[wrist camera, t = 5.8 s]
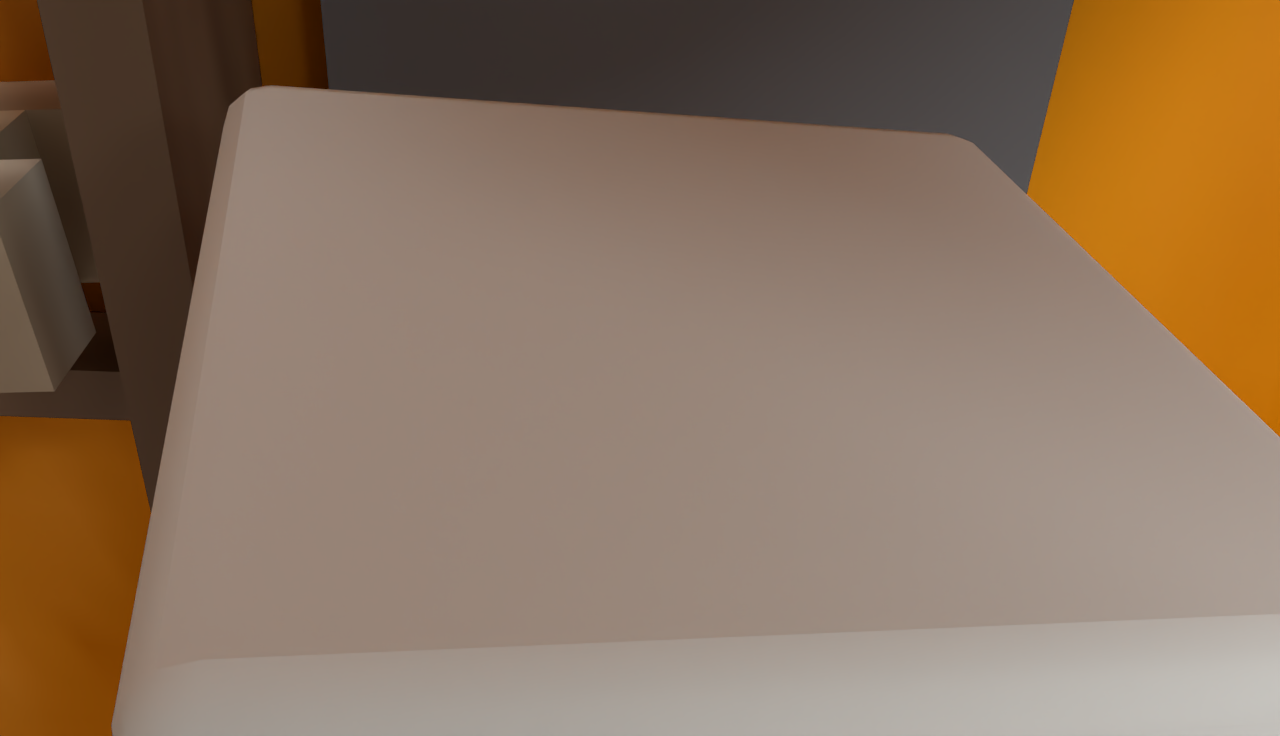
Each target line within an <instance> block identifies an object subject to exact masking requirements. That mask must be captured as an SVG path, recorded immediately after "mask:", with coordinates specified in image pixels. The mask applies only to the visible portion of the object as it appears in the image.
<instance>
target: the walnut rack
mask: <svg viewBox="0 0 1280 736" xmlns="http://www.w3.org/2000/svg"><path fill="white" fill-rule="evenodd" d="M37 3H38V8H39V12H40V17H41V21H42V26H43V30H44V35H45V39H46V43H47V48H48V52H49V57H50V61H51V66H52V70H53V75H54V79H55V84H56V88H57V93H58V97H59V102H60V106H61V111H62V115H63V120H64V124H65V129H66V133H67V138H68V142H69V147H70V151H71V156H72V160H73V165H74V169H75V174H76V178H77V182H78V187H79V191H80V196H81V200H82V205H83V209H84V214H85V218H86V223H87V227H88V232H89V236H90V241H91V245H92V250H93V254H94V259H95V263H96V268H97V272H98V277H99V281H100V286H101V290H102V295H103V299H104V304H105V308H106V313H97V312H90V314H91V317H92V321H93V324H94V327H95V330H96V333H95V335H94V336H93V338H92V339H91V340H90V342H89V343H88V345H87V346H86V348H85V349H84V350H83V352H82V353H81V355H80V356H79V357H78V359H77V360H76V362H75V363H74V364H73V366H72V367H71V369H70V370H69V372H68V373H67V374H66V376H65V377H64V379H63V380H62V381H61V383H60V384H59V386H58V387H57V388H56V390H55V391H49V392H11V393H0V416H20V417H48V418H77V419H106V420H131V425H132V429H133V434H134V438H135V443H136V447H137V452H138V456H139V460H140V465H141V469H142V474H143V478H144V483H145V487H146V492H147V496H148V501H149V505H150V510H151V511H152V506H153V501H154V495H155V490H156V485H157V479H158V474H159V469H160V463H161V458H162V452H163V447H164V442H165V436H166V431H167V426H168V420H169V415H170V410H171V404H172V399H173V394H174V388H175V383H176V378H177V372H178V367H179V362H180V356H181V351H182V346H183V340H184V335H185V329H186V324H187V319H188V313H189V308H190V303H191V297H192V292H193V287H194V281H195V276H196V271H197V265H198V260H199V255H200V249H201V244H202V239H203V233H204V228H205V223H206V217H207V212H208V206H209V201H210V196H211V190H212V185H213V180H214V174H215V169H216V164H217V158H218V153H219V148H220V142H221V137H222V132H223V126H224V123H225V119H226V115H227V112H228V108H229V106H230V105H231V104H232V103H233V102H234V101H236V100H237V99H238V98H239V97H240V96H241V95H243V94H244V93H245V92H246V91H248V90H249V89H251V88H256V87H262V81H261V73H260V65H259V57H258V49H257V41H256V33H255V26H254V18H253V10H252V2H251V0H37Z"/></svg>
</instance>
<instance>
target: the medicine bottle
mask: <svg viewBox="0 0 1280 736" xmlns="http://www.w3.org/2000/svg"><path fill="white" fill-rule="evenodd" d="M111 727H112V736H1280V437H1279V436H1278V435H1277V434H1276V433H1275V432H1274V431H1273V430H1272V429H1271V428H1270V427H1269V426H1268V425H1266V424H1265V423H1264V422H1263V421H1262V420H1261V419H1260V418H1259V417H1258V416H1257V415H1256V414H1255V413H1254V412H1253V411H1252V410H1251V409H1250V408H1249V407H1248V406H1247V405H1246V404H1245V403H1244V402H1243V401H1241V400H1240V399H1239V398H1238V397H1237V396H1236V395H1235V394H1234V393H1233V392H1232V391H1231V390H1230V389H1229V388H1228V387H1227V386H1226V385H1225V384H1224V383H1223V382H1222V381H1221V380H1220V379H1219V378H1218V377H1216V376H1215V375H1214V374H1213V373H1212V372H1211V371H1210V370H1209V369H1208V368H1207V367H1206V366H1205V365H1204V364H1203V363H1202V362H1201V361H1200V360H1199V359H1198V358H1197V357H1196V356H1195V355H1194V354H1192V353H1191V352H1190V351H1189V350H1188V349H1187V348H1186V347H1185V346H1184V345H1183V344H1182V343H1181V342H1180V341H1179V340H1178V339H1177V338H1176V337H1175V336H1174V335H1173V334H1172V333H1171V332H1170V331H1169V330H1167V329H1166V328H1165V327H1164V326H1163V325H1162V324H1161V323H1160V322H1159V321H1158V320H1157V319H1156V318H1155V317H1154V316H1153V315H1152V314H1151V313H1150V312H1149V311H1148V310H1147V309H1146V308H1145V307H1143V306H1142V305H1141V304H1140V303H1139V302H1138V301H1137V300H1136V299H1135V298H1134V297H1133V296H1132V295H1131V294H1130V293H1129V292H1128V291H1127V290H1126V289H1125V288H1124V287H1123V286H1122V285H1121V284H1120V283H1118V282H1117V281H1116V280H1115V279H1114V278H1113V277H1112V276H1111V275H1110V274H1109V273H1108V272H1107V271H1106V270H1105V269H1104V268H1103V267H1102V266H1101V265H1100V264H1099V263H1098V262H1097V261H1096V260H1095V259H1093V258H1092V257H1091V256H1090V255H1089V254H1088V253H1087V252H1086V251H1085V250H1084V249H1083V248H1082V247H1081V246H1080V245H1079V244H1078V243H1077V242H1076V241H1075V240H1074V239H1073V238H1072V237H1071V236H1069V235H1068V234H1067V233H1066V232H1065V231H1064V230H1063V229H1062V228H1061V227H1060V226H1059V225H1058V224H1057V223H1056V222H1055V221H1054V220H1053V219H1052V218H1051V217H1050V216H1049V215H1048V214H1047V213H1046V212H1044V211H1043V210H1042V209H1041V208H1040V207H1039V206H1038V205H1037V204H1036V203H1035V202H1034V201H1033V200H1032V199H1031V198H1030V197H1029V196H1028V195H1027V194H1026V193H1025V192H1024V191H1023V190H1022V189H1020V188H1019V187H1018V186H1017V185H1016V184H1015V183H1014V182H1013V181H1012V180H1011V179H1010V178H1009V177H1008V176H1007V175H1006V174H1005V173H1004V172H1003V171H1002V170H1001V169H1000V168H999V167H998V166H997V165H995V164H994V163H993V162H992V161H991V160H990V159H989V158H988V157H987V156H986V155H985V154H984V153H983V152H982V151H981V150H980V149H979V148H978V147H977V146H976V145H975V144H974V143H972V142H970V141H967V140H964V139H962V138H959V137H956V136H953V135H950V134H943V133H929V132H915V131H902V130H888V129H874V128H860V127H846V126H832V125H818V124H804V123H790V122H776V121H762V120H749V119H735V118H721V117H707V116H693V115H679V114H665V113H651V112H637V111H623V110H609V109H596V108H582V107H568V106H554V105H540V104H526V103H512V102H498V101H484V100H470V99H456V98H443V97H429V96H415V95H401V94H387V93H373V92H359V91H345V90H331V89H317V88H303V87H290V86H276V85H268V86H262V87H256V88H251V89H249V90H248V91H246V92H245V93H244V94H243V95H241V96H240V97H239V98H238V99H237V100H236V101H234V102H233V103H232V104H231V105H230V106H229V108H228V112H227V115H226V119H225V123H224V126H223V132H222V137H221V142H220V148H219V153H218V158H217V164H216V169H215V174H214V180H213V185H212V190H211V196H210V201H209V206H208V212H207V217H206V223H205V228H204V233H203V239H202V244H201V249H200V255H199V260H198V265H197V271H196V276H195V281H194V287H193V292H192V297H191V303H190V308H189V313H188V319H187V324H186V329H185V335H184V340H183V346H182V351H181V356H180V362H179V367H178V372H177V378H176V383H175V388H174V394H173V399H172V404H171V410H170V415H169V420H168V426H167V431H166V436H165V442H164V447H163V452H162V458H161V463H160V469H159V474H158V479H157V485H156V490H155V495H154V501H153V506H152V511H151V517H150V522H149V527H148V533H147V538H146V543H145V549H144V554H143V559H142V565H141V570H140V575H139V581H138V586H137V592H136V597H135V602H134V608H133V613H132V618H131V624H130V629H129V634H128V640H127V645H126V650H125V656H124V661H123V666H122V672H121V677H120V682H119V688H118V693H117V698H116V704H115V709H114V715H113V720H112V725H111Z"/></svg>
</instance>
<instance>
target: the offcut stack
mask: <svg viewBox="0 0 1280 736" xmlns="http://www.w3.org/2000/svg"><path fill="white" fill-rule="evenodd" d="M94 282H100V281H99V277H98V272H97V268H96V263H95V259H94V254H93V250H92V245H91V241H90V236H89V232H88V227H87V223H86V218H85V214H84V209H83V205H82V200H81V196H80V191H79V187H78V182H77V178H76V174H75V169H74V165H73V160H72V156H71V151H70V147H69V142H68V138H67V133H66V129H65V124H64V120H63V115H62V111H61V106H60V102H59V97H58V93H57V88H56V84H55V80H49V81H14V82H0V393H11V392H49V391H55V390H56V388H57V387H58V386H59V384H60V383H61V381H62V380H63V379H64V377H65V376H66V374H67V373H68V372H69V370H70V369H71V367H72V366H73V364H74V363H75V362H76V360H77V359H78V357H79V356H80V355H81V353H82V352H83V350H84V349H85V348H86V346H87V345H88V343H89V342H90V340H91V339H92V338H93V336H94V335H95V333H96V330H95V327H94V324H93V321H92V317H91V314H90V311H89V308H88V305H87V302H86V298H85V295H84V292H83V289H82V286H81V283H94Z"/></svg>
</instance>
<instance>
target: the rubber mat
mask: <svg viewBox="0 0 1280 736" xmlns="http://www.w3.org/2000/svg"><path fill="white" fill-rule="evenodd" d="M320 1H321V11H322V22H323V32H324V43H325V53H326V64H327V74H328V85H329V89H331V90H345V91H359V92H373V93H387V94H401V95H415V96H429V97H443V98H456V99H470V100H484V101H498V102H512V103H526V104H540V105H554V106H568V107H582V108H596V109H609V110H623V111H637V112H651V113H665V114H679V115H693V116H707V117H721V118H735V119H749V120H762V121H776V122H790V123H804V124H818V125H832V126H846V127H860V128H874V129H888V130H902V131H915V132H929V133H943V134H950V135H953V136H956V137H959V138H962V139H964V140H967V141H970V142H972V143H974V144H975V145H976V146H977V147H978V148H979V149H980V150H981V151H982V152H983V153H984V154H985V155H986V156H987V157H988V158H989V159H990V160H991V161H992V162H993V163H994V164H995V165H997V166H998V167H999V168H1000V169H1001V170H1002V171H1003V172H1004V173H1005V174H1006V175H1007V176H1008V177H1009V178H1010V179H1011V180H1012V181H1013V182H1014V183H1015V184H1016V185H1017V186H1018V187H1019V188H1020V189H1022V190H1023V191H1024V192H1025V193H1026V194H1027V190H1028V186H1029V182H1030V178H1031V173H1032V169H1033V165H1034V161H1035V157H1036V153H1037V149H1038V145H1039V141H1040V137H1041V133H1042V128H1043V124H1044V120H1045V116H1046V112H1047V108H1048V104H1049V100H1050V96H1051V92H1052V88H1053V83H1054V79H1055V75H1056V71H1057V67H1058V63H1059V59H1060V55H1061V51H1062V47H1063V43H1064V38H1065V34H1066V30H1067V26H1068V22H1069V18H1070V14H1071V10H1072V6H1073V2H1074V0H320Z"/></svg>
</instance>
